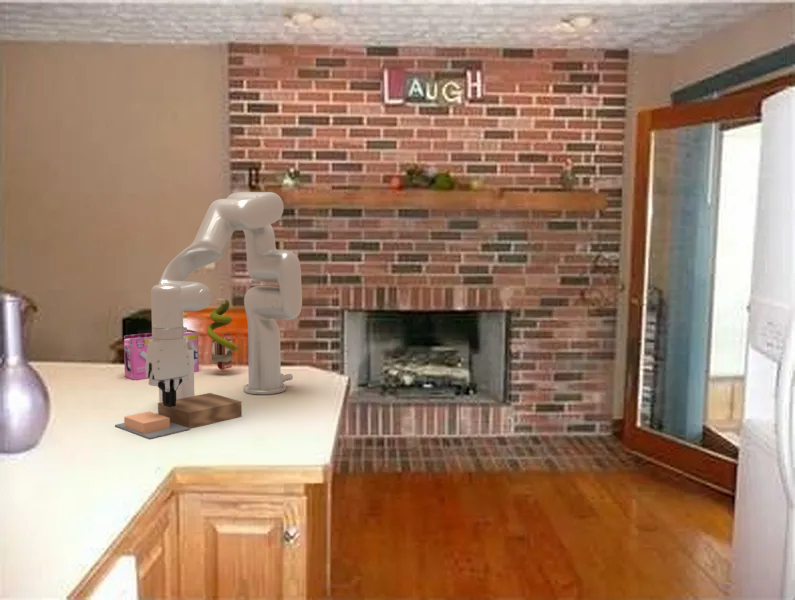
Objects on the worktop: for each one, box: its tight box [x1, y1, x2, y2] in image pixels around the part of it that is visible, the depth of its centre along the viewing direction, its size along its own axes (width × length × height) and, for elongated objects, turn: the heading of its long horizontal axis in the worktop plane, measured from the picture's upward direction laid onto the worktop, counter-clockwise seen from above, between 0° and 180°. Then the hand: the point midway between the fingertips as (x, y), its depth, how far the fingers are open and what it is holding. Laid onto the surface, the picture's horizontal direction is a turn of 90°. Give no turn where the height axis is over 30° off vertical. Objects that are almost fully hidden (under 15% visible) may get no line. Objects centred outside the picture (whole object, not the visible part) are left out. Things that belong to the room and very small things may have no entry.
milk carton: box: [158, 337, 195, 403], centre depth 214 cm, size 7×7×19 cm
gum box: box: [123, 329, 200, 381], centre depth 252 cm, size 24×8×14 cm, turn 131°
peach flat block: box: [123, 410, 170, 434], centre depth 189 cm, size 7×9×2 cm
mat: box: [114, 422, 191, 440], centre depth 190 cm, size 11×16×1 cm
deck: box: [157, 392, 243, 429], centre depth 200 cm, size 16×14×4 cm
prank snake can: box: [206, 298, 239, 370], centre depth 254 cm, size 12×10×25 cm
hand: (169, 405), depth 193 cm, fingers closed
